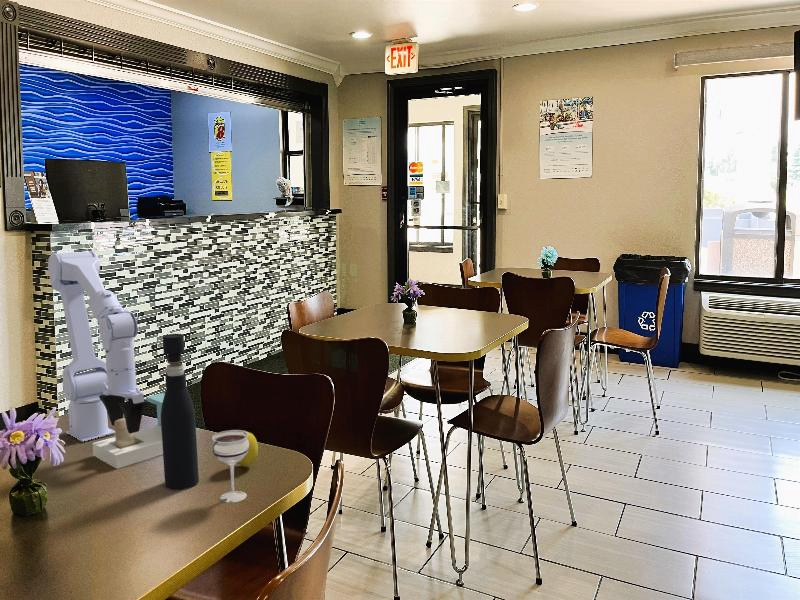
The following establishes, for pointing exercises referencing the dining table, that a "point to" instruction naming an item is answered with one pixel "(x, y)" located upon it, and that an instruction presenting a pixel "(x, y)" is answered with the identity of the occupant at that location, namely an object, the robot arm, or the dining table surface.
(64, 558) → the dining table surface
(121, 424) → the peg
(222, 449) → the wineglass
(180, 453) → the wine bottle
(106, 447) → the socket block
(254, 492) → the dining table surface
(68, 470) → the dining table surface
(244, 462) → the lemon
